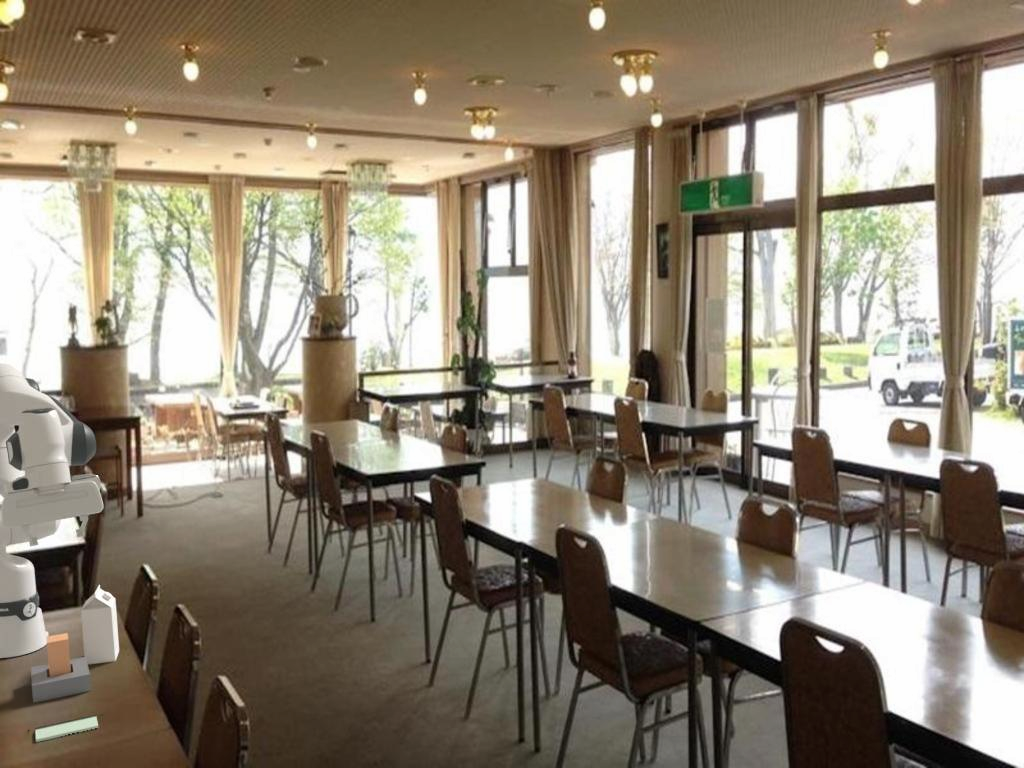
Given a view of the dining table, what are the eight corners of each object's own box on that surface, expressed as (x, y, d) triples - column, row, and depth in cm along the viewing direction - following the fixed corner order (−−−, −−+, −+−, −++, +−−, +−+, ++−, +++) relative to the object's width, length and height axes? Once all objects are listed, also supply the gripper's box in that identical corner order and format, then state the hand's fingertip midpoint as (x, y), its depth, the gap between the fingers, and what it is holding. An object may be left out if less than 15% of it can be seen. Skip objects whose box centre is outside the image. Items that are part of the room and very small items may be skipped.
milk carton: (85, 668, 231) (79, 594, 229) (90, 657, 238) (84, 586, 235) (115, 664, 233) (110, 591, 231) (119, 654, 239) (114, 583, 237)
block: (50, 685, 219) (46, 636, 218) (71, 681, 221) (67, 632, 220) (51, 692, 215) (46, 643, 214) (72, 688, 217) (68, 639, 216)
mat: (34, 711, 207) (34, 709, 207) (92, 699, 213) (92, 697, 213) (36, 742, 193) (35, 739, 193) (98, 728, 199) (98, 725, 199)
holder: (32, 687, 221) (30, 667, 220) (87, 676, 226) (86, 656, 226) (33, 706, 210) (31, 685, 210) (91, 694, 216) (89, 674, 215)
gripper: (96, 473, 213) (105, 532, 212) (-4, 488, 202) (5, 551, 200) (101, 470, 208) (110, 530, 207) (-2, 485, 196) (7, 550, 195)
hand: (57, 541), depth 203 cm, fingers open, 8 cm apart
